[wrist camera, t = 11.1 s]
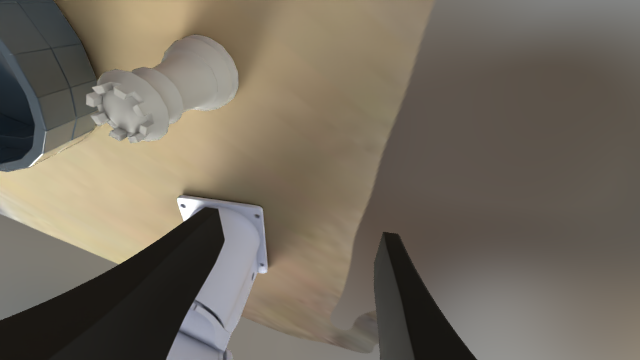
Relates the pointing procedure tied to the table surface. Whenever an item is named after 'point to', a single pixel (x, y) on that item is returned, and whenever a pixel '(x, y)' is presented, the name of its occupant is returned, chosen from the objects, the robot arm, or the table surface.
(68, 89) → the bowl
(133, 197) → the table surface
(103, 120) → the rook chess piece
